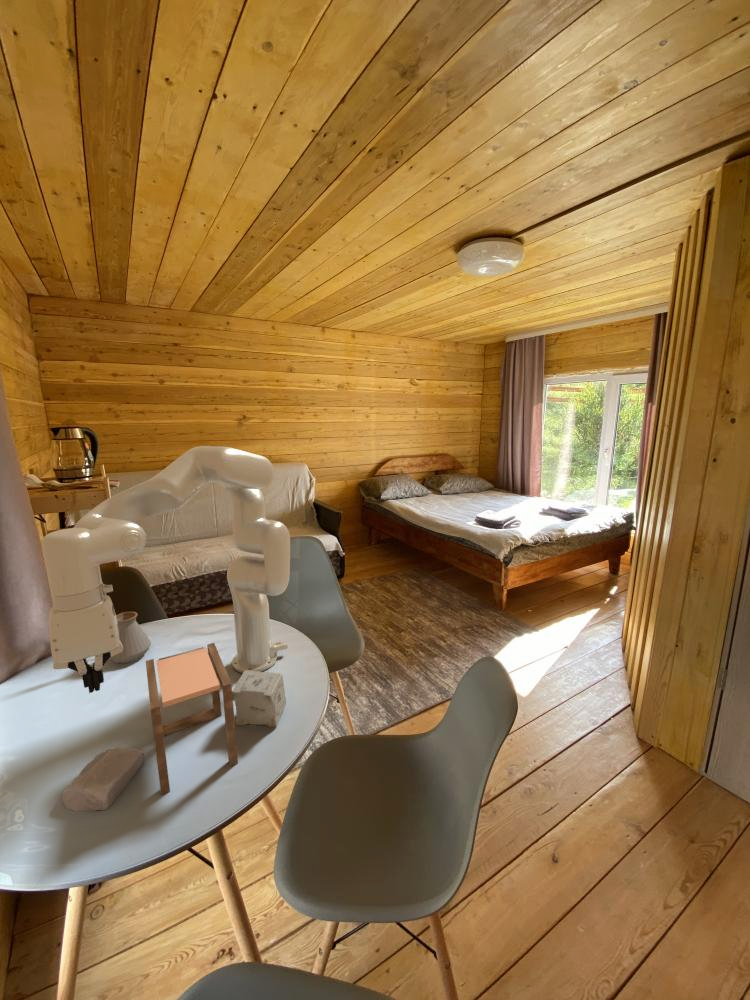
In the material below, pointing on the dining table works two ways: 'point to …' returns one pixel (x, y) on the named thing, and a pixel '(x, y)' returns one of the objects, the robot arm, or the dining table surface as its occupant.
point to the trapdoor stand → (194, 719)
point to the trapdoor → (186, 676)
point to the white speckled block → (259, 698)
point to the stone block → (103, 779)
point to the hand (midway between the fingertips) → (95, 687)
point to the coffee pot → (130, 639)
